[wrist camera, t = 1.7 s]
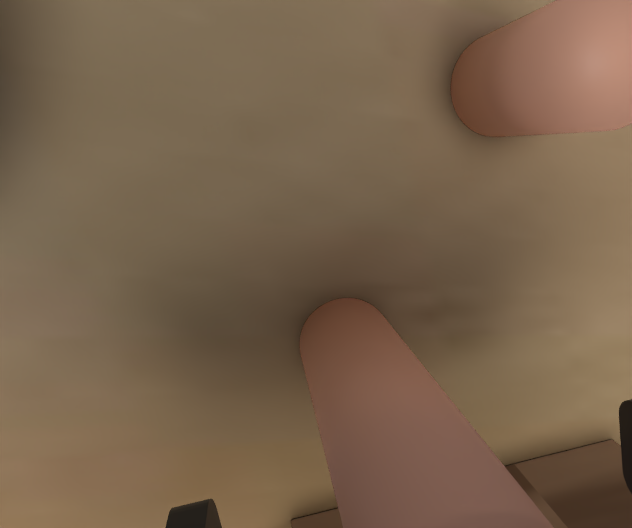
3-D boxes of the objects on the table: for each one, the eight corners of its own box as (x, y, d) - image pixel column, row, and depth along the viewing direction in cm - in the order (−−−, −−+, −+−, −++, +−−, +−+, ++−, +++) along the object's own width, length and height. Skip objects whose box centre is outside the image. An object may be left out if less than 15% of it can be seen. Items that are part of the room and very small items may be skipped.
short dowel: (444, 41, 15) (536, -10, 10) (541, 24, 15) (676, -35, 10) (456, 145, 16) (548, 142, 11) (548, 127, 16) (678, 117, 11)
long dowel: (290, 308, 16) (351, 543, 6) (382, 288, 16) (572, 487, 7) (309, 394, 17) (387, 721, 7) (396, 373, 17) (587, 664, 7)
